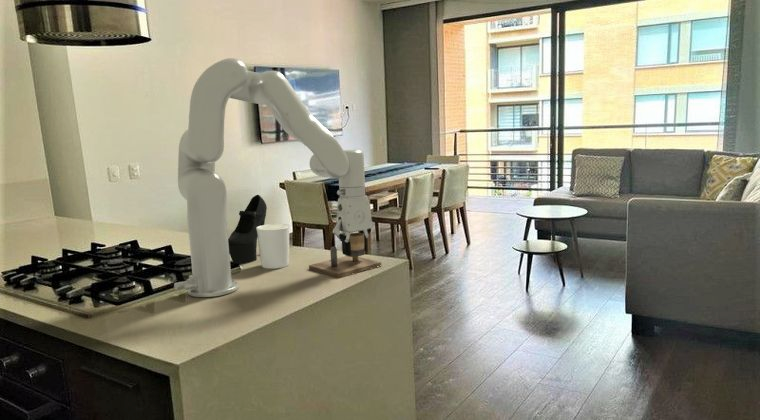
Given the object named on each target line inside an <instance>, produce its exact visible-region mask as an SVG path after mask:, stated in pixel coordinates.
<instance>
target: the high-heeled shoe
mask: <svg viewBox="0 0 760 420" xmlns="http://www.w3.org/2000/svg"><path fill="white" fill-rule="evenodd" d="M267 206H268V205H267V203H266V201H265V199H264V198H263V197H261V195H259V194H256V195H254V196H252V198H251V199H250V201H249V203H248V204H247V207H246V208H245V209H244V210H240V211H239V212H238V215H239V220H238V222H237V225H236V227H235V229H234V230H233V231H232V232H231V233H230V235H229V236H228V243H229V255H230V260H231V262H232V263H234V264H249V263H252V262H255V261H256V260H257V259H258V258H257V248H258V247H257V245H258V236H257V230H256V228H257V227H258V226H262V225H265V223H266V222H265V221H266V216H267V211H268V210H267V209H268V208H267Z"/></svg>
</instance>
